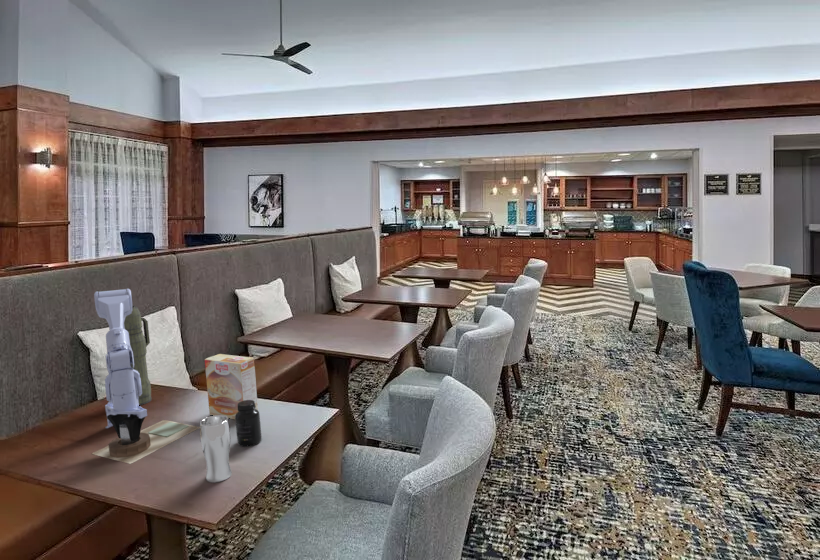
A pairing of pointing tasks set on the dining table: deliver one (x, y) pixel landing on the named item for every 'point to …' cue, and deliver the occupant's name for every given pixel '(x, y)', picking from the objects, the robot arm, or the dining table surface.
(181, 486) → the dining table surface
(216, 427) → the beer glass
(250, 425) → the supplement bottle
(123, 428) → the pin
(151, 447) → the board
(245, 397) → the coffeecake box
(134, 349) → the thermos
